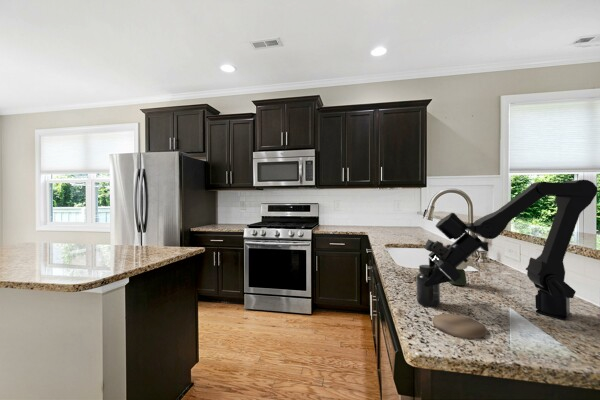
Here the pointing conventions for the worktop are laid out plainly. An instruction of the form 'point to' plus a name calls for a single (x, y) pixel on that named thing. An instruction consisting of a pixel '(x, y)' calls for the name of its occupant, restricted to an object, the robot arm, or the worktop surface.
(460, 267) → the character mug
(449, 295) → the worktop surface
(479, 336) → the walnut trivet
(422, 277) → the supplement bottle
